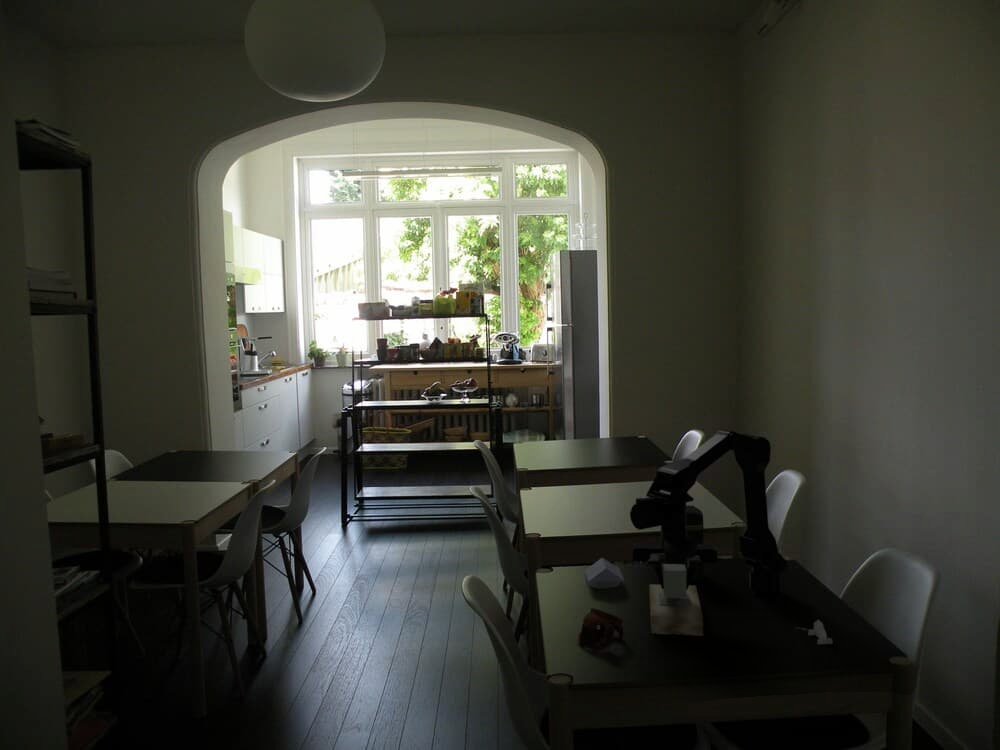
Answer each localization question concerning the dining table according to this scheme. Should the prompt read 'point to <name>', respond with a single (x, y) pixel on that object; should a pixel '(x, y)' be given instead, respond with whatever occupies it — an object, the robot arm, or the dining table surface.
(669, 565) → the sage block
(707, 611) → the dining table surface
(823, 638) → the grey curved piece
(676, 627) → the birch base
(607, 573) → the wedge on round base
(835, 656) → the dining table surface
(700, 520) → the coffee jar
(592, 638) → the pottery mug
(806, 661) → the dining table surface
